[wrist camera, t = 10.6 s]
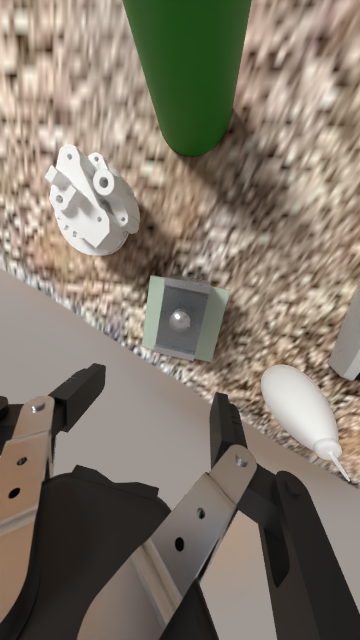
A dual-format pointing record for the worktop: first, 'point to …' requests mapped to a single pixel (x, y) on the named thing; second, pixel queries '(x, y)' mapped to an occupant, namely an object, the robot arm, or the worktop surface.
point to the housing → (181, 316)
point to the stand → (209, 323)
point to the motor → (190, 65)
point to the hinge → (348, 343)
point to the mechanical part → (92, 202)
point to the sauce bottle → (302, 411)
